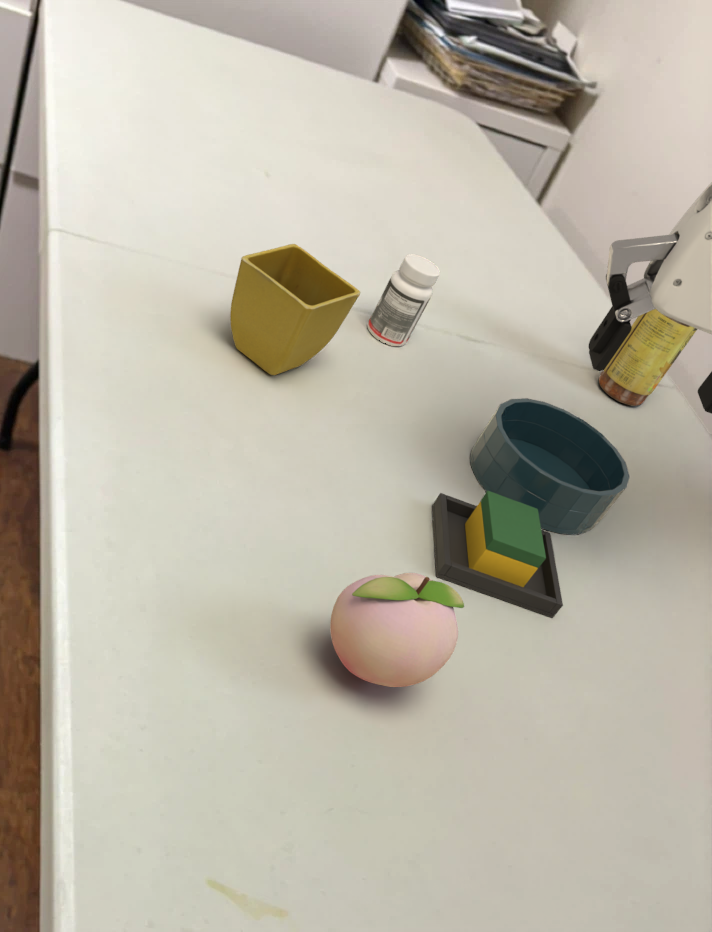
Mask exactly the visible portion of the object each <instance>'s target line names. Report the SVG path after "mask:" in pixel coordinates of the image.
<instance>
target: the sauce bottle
mask: <svg viewBox="0 0 712 932" xmlns="http://www.w3.org/2000/svg"><path fill="white" fill-rule="evenodd" d="M631 327H632V329H631V331H630V333H629V335H628V336H627V337H626V339H625V340H624V342H623V343H622V345H621V346H620V348H619V349H618V350H617V352H616V353H615V355H614V356H613V358H612V359H611V361H610V362H609V364H608V365H607V366H606V368H605V369H604V370H603V371H602V370H601V371H600V375H599V377H598V384H599V387H600V388H601V389H602V391H604V393H605V394H606V395H608V396H609V397H610V398H612V399H614V400H615V401H617V402H619V403H621V404H623V405H628V406H631V407H638V406H640V405H642V404H643V403H644V402H645V401H646V400H647V398H648V397H649V396H651V394H653V392H654V391H655V389H656V388H657V387H658V385H659V384H660V382H661V381H662V379H664V377H665V375H666V374H667V372H668V371H669V370H670V369H671V367H672V365H673V364H674V363H675V362H676V360H677V359H678V358H679V356H680V354H681V353H682V352H683V350H684V349H685V348H686V346H687V345H688V344H689V342H690V341H691V339H692V338H693V336H694V335H695V334H696V332H697V331H698V329H696V328H694V327H691V326H689V325H686V324H684V323H681V322H679V321H676V320H674V319H672V318H669V317H667V316H665V315H663V314H662V313H660V312H659V311H658V310H657V309H654V310H652V311H649V312H647V313H645V314H643V315H640V316H638V317H636V318H635V320H634V322H633V323H632V324H631Z"/></svg>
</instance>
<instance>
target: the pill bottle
mask: <svg viewBox="0 0 712 932" xmlns="http://www.w3.org/2000/svg"><path fill="white" fill-rule="evenodd" d="M440 274H441V271H440V268H439V267H438V266H437V265H436V263H434V262H433V261H431V260H430V259H428V258H427V257H424V256H422V255H419V254H415V253H408V254H406V255H405V256H404V259H403V260H402V262H401V264H400V266H399V269H398V270H396V271H394V272H393V273H392V275H391V276H390V278H389V280H388V282H387V284H386V286H385V288H384V290H383V292H382V293H381V296H380V298H379V300H378V302H377V304H376V306H375V308H374V310H373V312H372V314H371V316H370V318H369V320H368V322H367V329H368V331H369V333H370V334H371V335H372V336H373V337H374V338H375V339H376V340H377V341H379V340H380V341H379V342H380V343H383V344H385V343H386V344H385V345H387V346H390V347H391V346H392V347H402V346H404V345H406V344H407V343H408V341H409V339H410V338H411V335H412V334H413V332H414V330H415V328H416V326H417V325H418V322H419V320H420V319H421V317H422V315H423V313H424V311H425V310H426V308H427V306H428V304H429V302H430V300H431V297H433V292H434V289H433V286H434V285H435V284H436V283H437V281H438V278H439V276H440Z"/></svg>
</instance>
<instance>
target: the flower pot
mask: <svg viewBox="0 0 712 932" xmlns="http://www.w3.org/2000/svg"><path fill="white" fill-rule="evenodd" d="M238 267H239V268H238V272H237V275H236V281H235V283H234V284H235V285H234V289H233V294H232V299H231V304H230V314H229V316H230V317H229V318H230V331H231V334H232V338H233V343H234V345H235V348H236V349H237V350H238V351H239V352H240V353H242V354H243V355H244V356H245V357H246V358H248V359H249V360H251V361H252V362H253V363H254V364H256V365H257V366H258V367H260V369H262V370H263V371H264V372H266V373H267V374H269V375H270V376H277V375H279V374H282V373H284V372H287V371H289V370H292V369H295V368H298V367H301V366H303V365H305V364H306V363H307V362H309V360H311V359H312V358H314V357H315V356H316V355H317V354H319V353H320V352H321V351H322V350H323V349H324V348H325V347H326V346H327V345H328V344H329V343H330V342H331V341H332V339H333V338H334V337H335V335H336V334H337V333H338V331H339V329H340V328H341V326H342V324H343V323H344V321H345V320H346V318H347V316H348V315H349V313H350V311H351V310H352V308H353V307H354V305H355V303H356V302H357V300H358V298H359V297H360V295H361V290H359V289H358V288H357V287H355V286H354V285H353V284H351V283H350V282H349V281H347V280H346V279H344V278H343V277H341V276H340V275H338V274H337V273H336V272H334V271H333V270H332V269H330V268H329V267H328V266H326V265H325V264H323V263H322V262H321V261H319V260H318V259H317V258H316V257H315V256H313V255H312V254H311V253H309V252H308V251H306V249H304V248H302V247H301V246H299V245H297V244H296V243H290V244H286V245H282V246H278V247H274V248H269V249H267V250H262V251H258V252H254V253H250V254H249V253H248V254H245V255H243V256H241V258H240V263H239V266H238Z"/></svg>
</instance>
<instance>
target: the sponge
mask: <svg viewBox="0 0 712 932" xmlns="http://www.w3.org/2000/svg"><path fill="white" fill-rule="evenodd" d="M476 506H477V507H476V508H475V510H474V511H473V513H472V514H471V516H470V517H469V519H468V520H467V522H466V523H465V530H466V541H467V552H468V563H469V568H471V569H474V570H476V571H479V572H482V573H485V574H488V575H490V576H493V577H496V578H499V579H502V580H504V581H507V582H510V583H513V584H516V585H518V586H521V587H524V586H525V585H526V583H527V582H528V581H529V579H530V578H531V577H532V575H533V574H534V573H535V572H536V570H537V569H538V568H539V567H540V565H541V564H542V563H543V561H544V560H545V559H546V555H545V549H544V543H543V537H542V531H541V530H542V528H541V525H540V519H539V514H538V509H536V508H534V507H531V506H528V505H526V504H523V503H520V502H517V501H515V500H512V499H509V498H507V497H504V496H501V495H499V494H496V493H493V492H490V491H487V492H486V491H485V494H483V496H482V498H481V499H480V501H479V502H478V504H477V505H476Z"/></svg>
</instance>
